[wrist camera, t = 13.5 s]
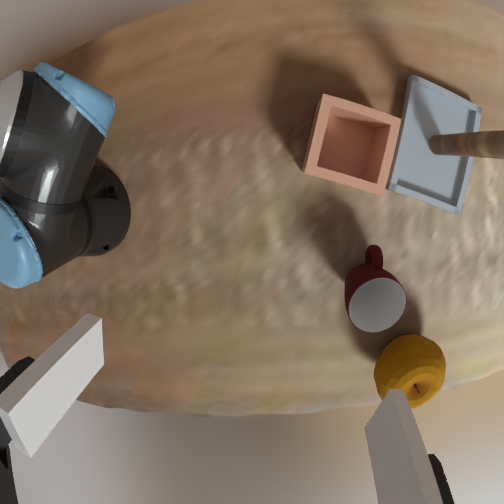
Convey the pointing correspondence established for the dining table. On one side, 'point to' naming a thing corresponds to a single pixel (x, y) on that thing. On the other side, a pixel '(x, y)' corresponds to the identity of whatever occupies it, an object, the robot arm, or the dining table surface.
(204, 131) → the dining table surface
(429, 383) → the apple
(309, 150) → the pink open square box
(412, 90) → the tray
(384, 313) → the mug
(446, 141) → the dowel
